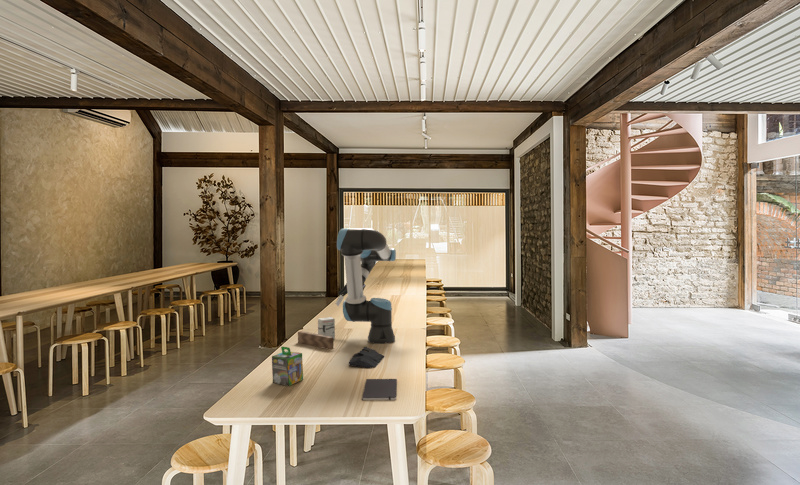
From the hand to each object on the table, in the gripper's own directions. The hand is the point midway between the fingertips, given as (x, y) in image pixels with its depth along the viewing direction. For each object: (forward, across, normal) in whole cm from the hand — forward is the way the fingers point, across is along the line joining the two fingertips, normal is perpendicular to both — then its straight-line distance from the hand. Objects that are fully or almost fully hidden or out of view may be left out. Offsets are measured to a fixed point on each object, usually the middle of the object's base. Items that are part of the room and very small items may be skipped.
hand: (343, 305), depth 284 cm
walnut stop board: (+31, -5, +8) cm, 33 cm away
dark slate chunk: (+37, -47, +12) cm, 60 cm away
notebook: (+55, -78, +30) cm, 100 cm away
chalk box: (+65, -40, +41) cm, 87 cm away
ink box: (+22, 0, -2) cm, 22 cm away
